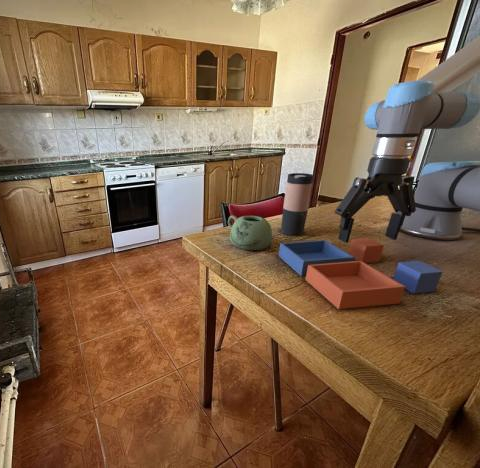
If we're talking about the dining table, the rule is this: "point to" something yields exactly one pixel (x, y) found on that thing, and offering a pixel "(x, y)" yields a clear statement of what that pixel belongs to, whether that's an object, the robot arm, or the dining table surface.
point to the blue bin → (311, 254)
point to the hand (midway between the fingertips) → (366, 239)
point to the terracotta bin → (354, 284)
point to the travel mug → (296, 203)
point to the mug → (250, 232)
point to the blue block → (417, 276)
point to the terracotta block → (366, 250)
